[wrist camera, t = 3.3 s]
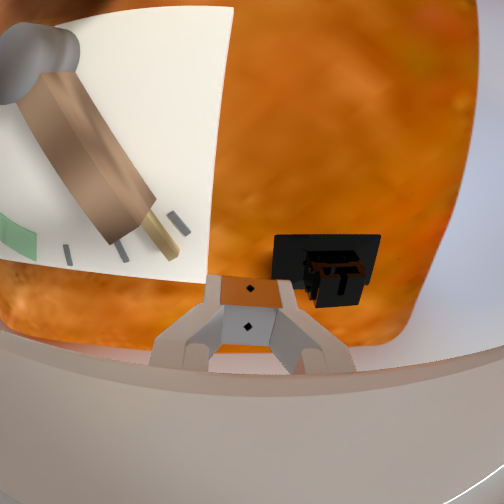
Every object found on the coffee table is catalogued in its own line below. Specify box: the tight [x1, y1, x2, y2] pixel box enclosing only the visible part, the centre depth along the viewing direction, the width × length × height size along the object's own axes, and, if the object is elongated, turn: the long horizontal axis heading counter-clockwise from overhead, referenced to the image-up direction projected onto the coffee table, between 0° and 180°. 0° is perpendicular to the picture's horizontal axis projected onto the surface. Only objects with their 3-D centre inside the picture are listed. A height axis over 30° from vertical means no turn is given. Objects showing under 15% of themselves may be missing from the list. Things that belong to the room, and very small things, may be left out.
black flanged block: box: [271, 234, 381, 308], centre depth 22 cm, size 12×7×5 cm, turn 89°
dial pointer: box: [0, 22, 180, 261], centre depth 13 cm, size 20×5×4 cm, turn 28°
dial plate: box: [0, 6, 234, 284], centre depth 16 cm, size 20×24×2 cm
